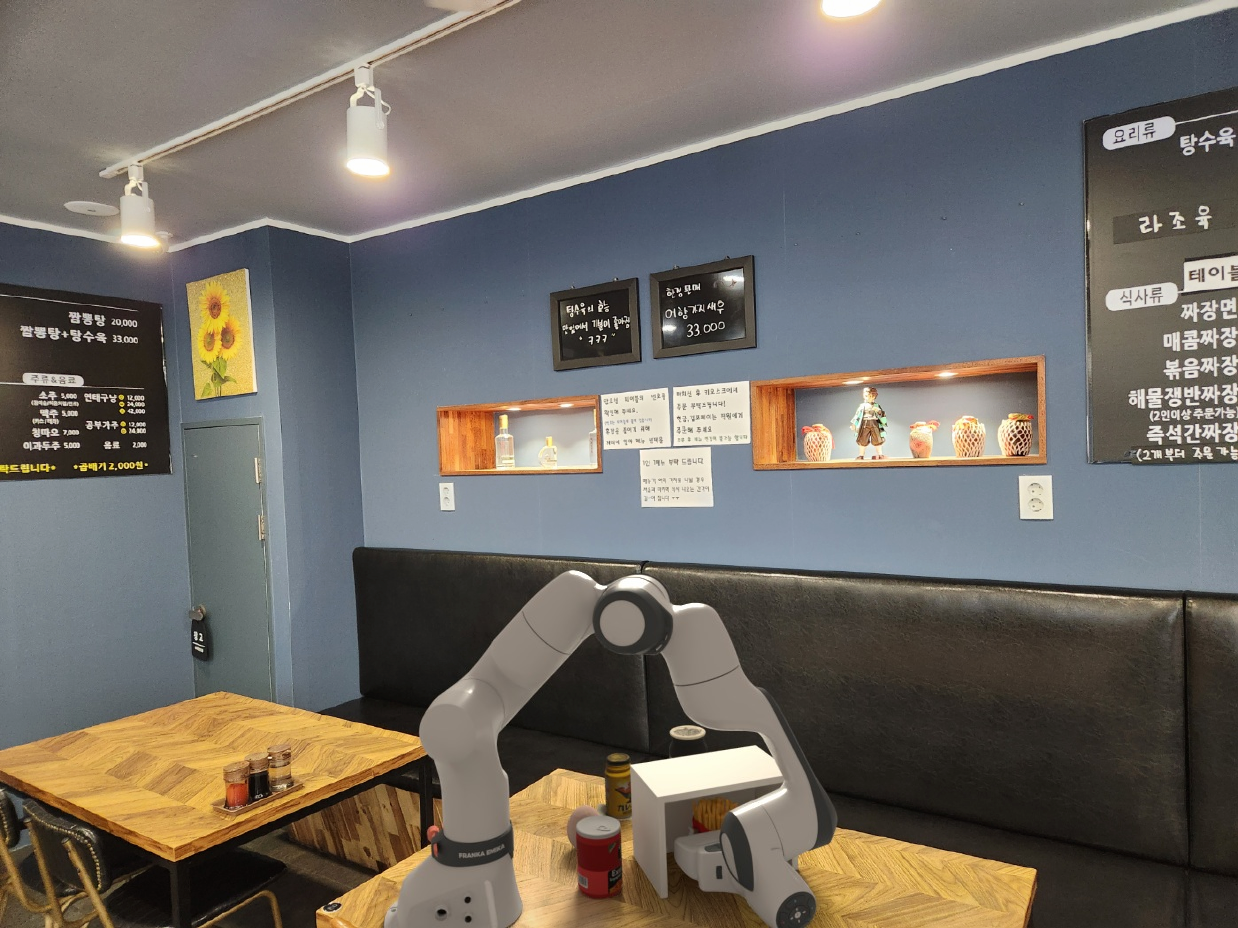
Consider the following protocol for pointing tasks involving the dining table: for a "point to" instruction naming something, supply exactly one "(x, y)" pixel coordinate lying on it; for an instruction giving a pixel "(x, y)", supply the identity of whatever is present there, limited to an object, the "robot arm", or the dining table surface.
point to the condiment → (617, 788)
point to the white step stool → (691, 798)
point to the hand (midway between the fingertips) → (714, 825)
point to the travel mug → (687, 741)
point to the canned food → (599, 856)
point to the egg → (575, 817)
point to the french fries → (711, 813)
